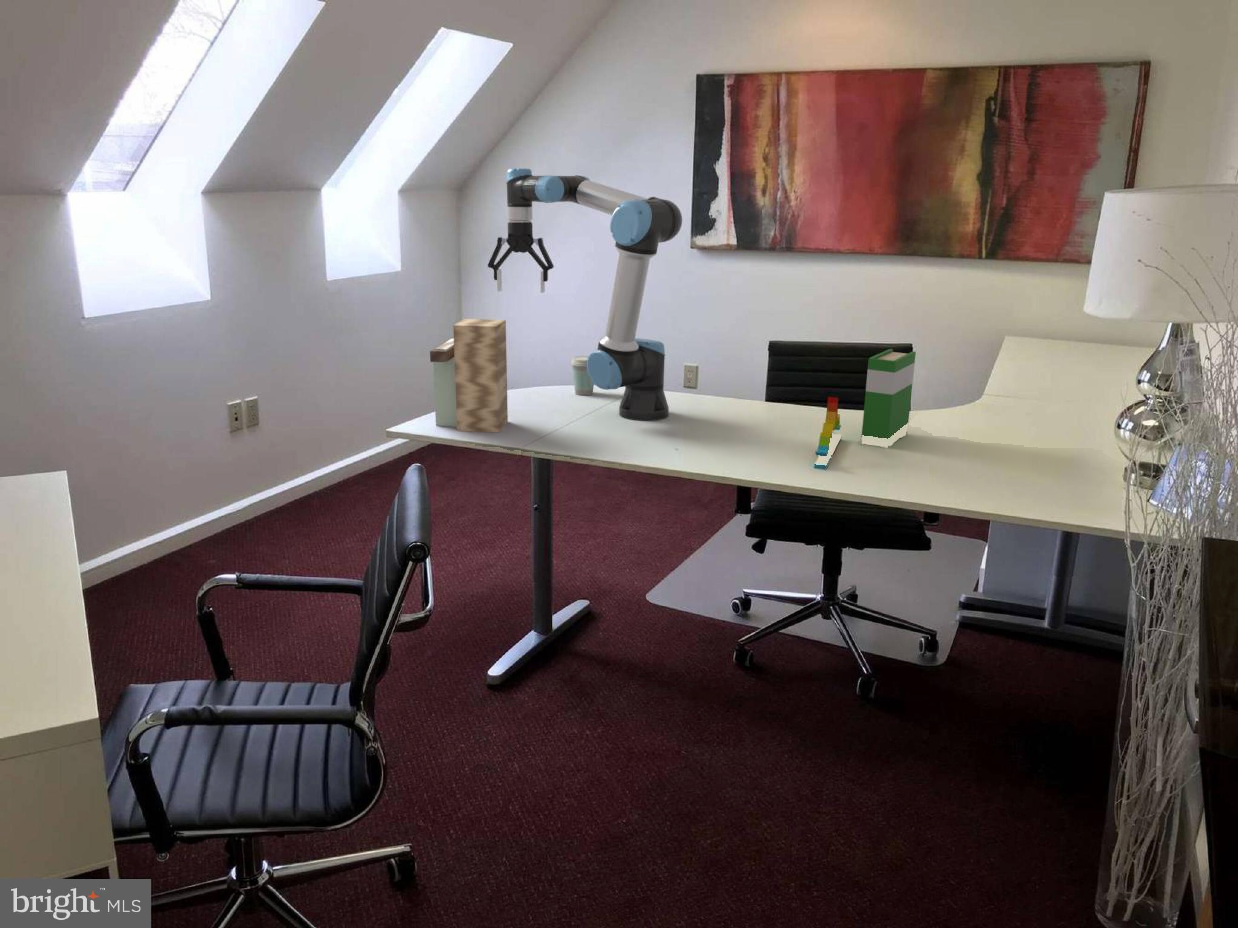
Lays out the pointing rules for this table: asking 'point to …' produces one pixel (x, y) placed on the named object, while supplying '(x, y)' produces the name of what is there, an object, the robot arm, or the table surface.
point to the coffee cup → (581, 376)
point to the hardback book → (888, 393)
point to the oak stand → (480, 375)
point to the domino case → (443, 352)
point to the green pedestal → (445, 393)
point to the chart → (828, 429)
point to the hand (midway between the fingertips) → (521, 291)
